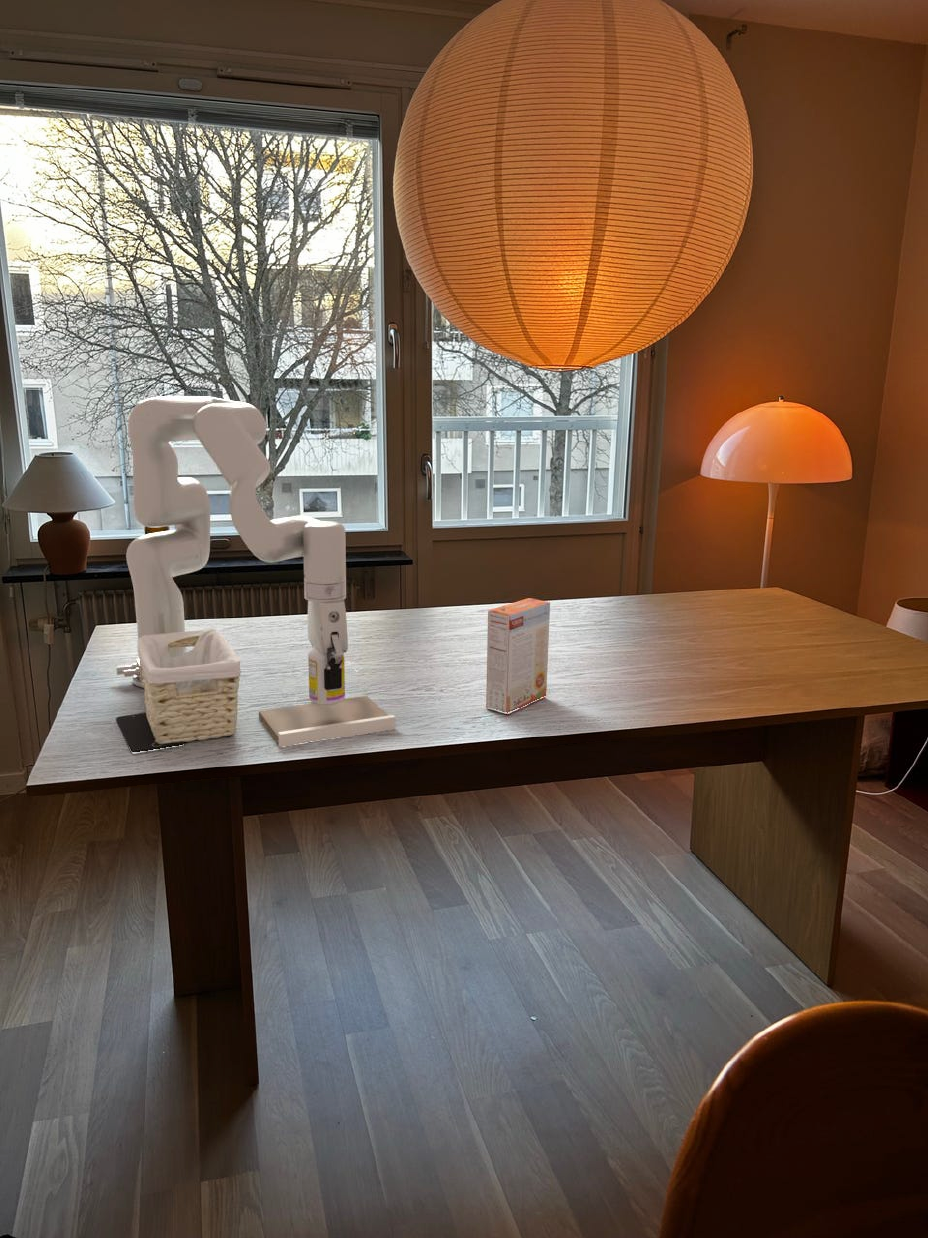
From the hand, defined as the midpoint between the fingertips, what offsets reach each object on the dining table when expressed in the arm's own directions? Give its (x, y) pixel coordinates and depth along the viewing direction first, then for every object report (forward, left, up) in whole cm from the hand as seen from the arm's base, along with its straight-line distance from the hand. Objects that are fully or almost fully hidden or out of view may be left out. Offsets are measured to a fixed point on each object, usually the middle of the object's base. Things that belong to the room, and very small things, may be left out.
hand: (326, 681), depth 167 cm
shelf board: (0, +1, -9) cm, 9 cm away
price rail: (0, -7, -9) cm, 11 cm away
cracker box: (+39, -4, -9) cm, 40 cm away
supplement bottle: (0, 0, -4) cm, 4 cm away
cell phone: (-31, +9, -9) cm, 34 cm away
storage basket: (-23, +12, -9) cm, 27 cm away
